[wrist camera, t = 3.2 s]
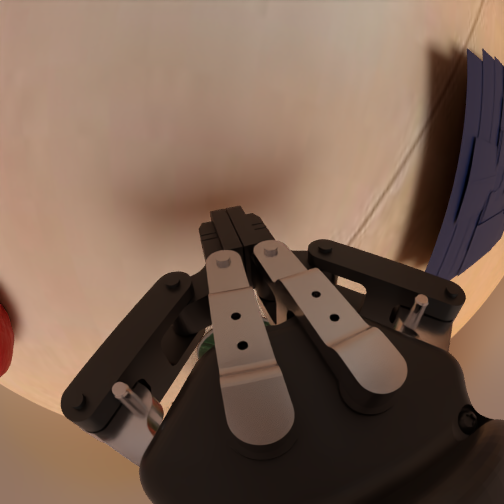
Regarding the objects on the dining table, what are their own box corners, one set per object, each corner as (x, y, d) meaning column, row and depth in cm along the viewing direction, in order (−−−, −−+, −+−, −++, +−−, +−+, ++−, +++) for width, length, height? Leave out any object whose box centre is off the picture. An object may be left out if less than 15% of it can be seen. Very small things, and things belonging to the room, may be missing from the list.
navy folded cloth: (433, 21, 10) (476, 26, 7) (517, 97, 19) (535, 105, 16) (390, 290, 24) (414, 314, 21) (489, 231, 33) (503, 242, 30)
